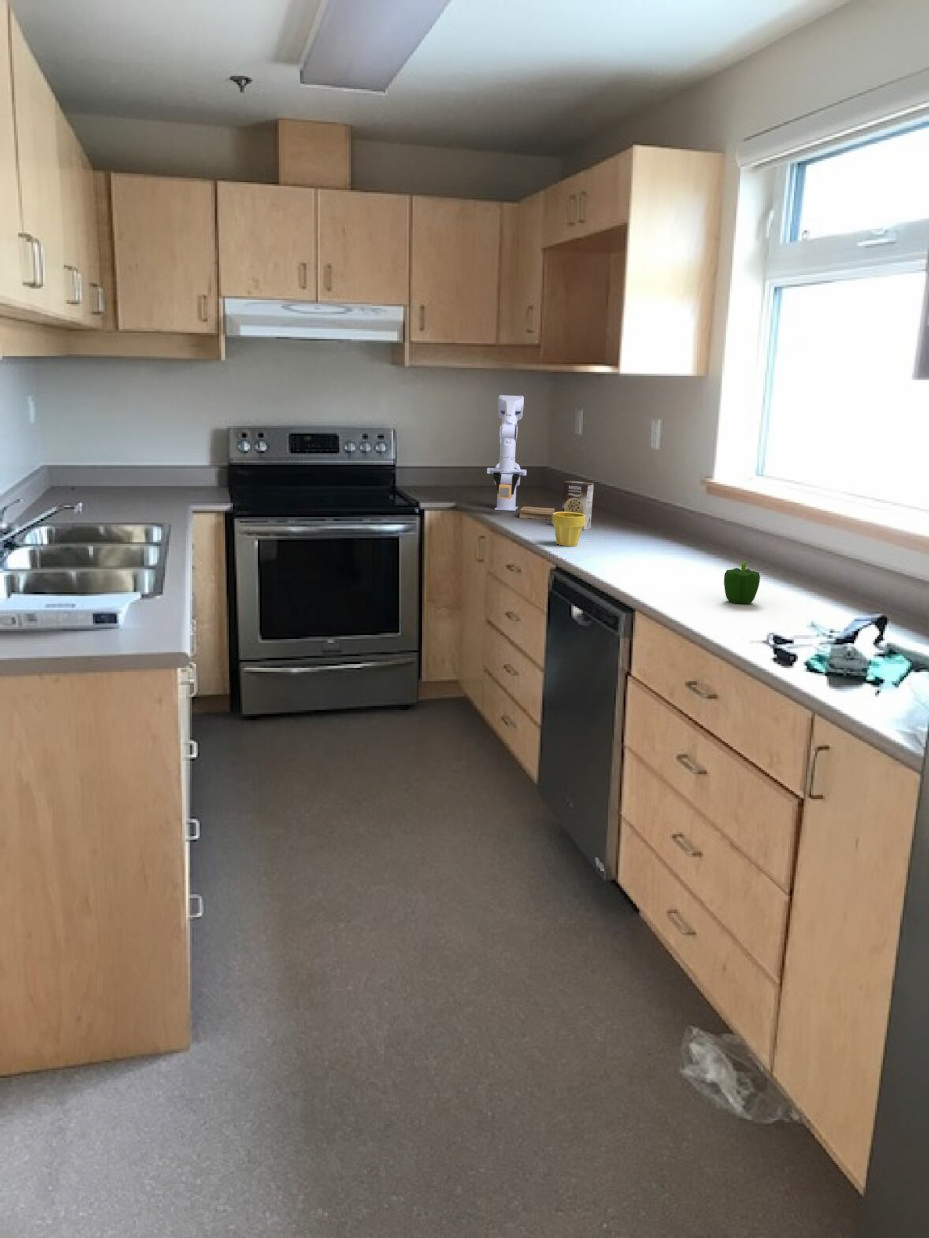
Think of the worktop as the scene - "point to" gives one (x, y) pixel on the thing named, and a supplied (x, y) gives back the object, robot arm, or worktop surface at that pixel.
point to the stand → (537, 513)
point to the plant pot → (568, 527)
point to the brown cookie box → (578, 499)
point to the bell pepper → (741, 584)
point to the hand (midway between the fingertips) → (505, 493)
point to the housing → (505, 491)
